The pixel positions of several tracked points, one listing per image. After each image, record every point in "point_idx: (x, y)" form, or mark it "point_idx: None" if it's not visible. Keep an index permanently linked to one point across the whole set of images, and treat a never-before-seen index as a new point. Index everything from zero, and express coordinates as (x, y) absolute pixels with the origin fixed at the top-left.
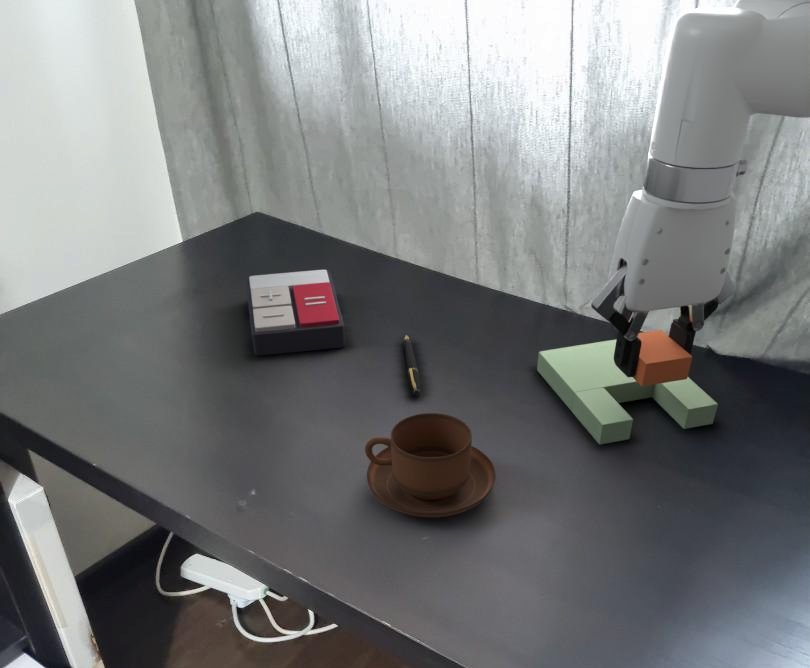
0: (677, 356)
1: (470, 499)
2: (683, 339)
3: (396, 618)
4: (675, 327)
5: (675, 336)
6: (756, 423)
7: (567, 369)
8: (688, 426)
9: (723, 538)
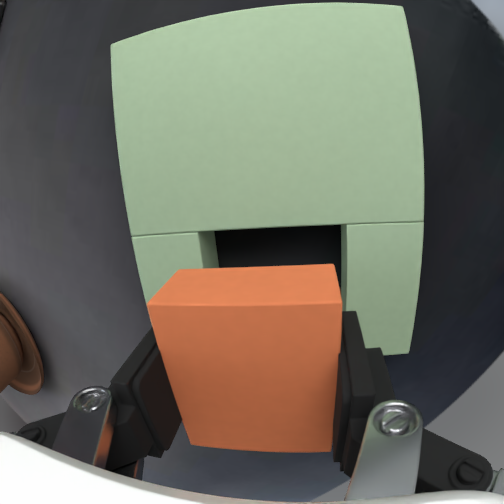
0: (289, 447)
1: (34, 370)
2: (334, 437)
3: (28, 423)
4: (339, 412)
5: (337, 398)
6: (460, 338)
7: (141, 133)
8: None
9: (260, 479)
